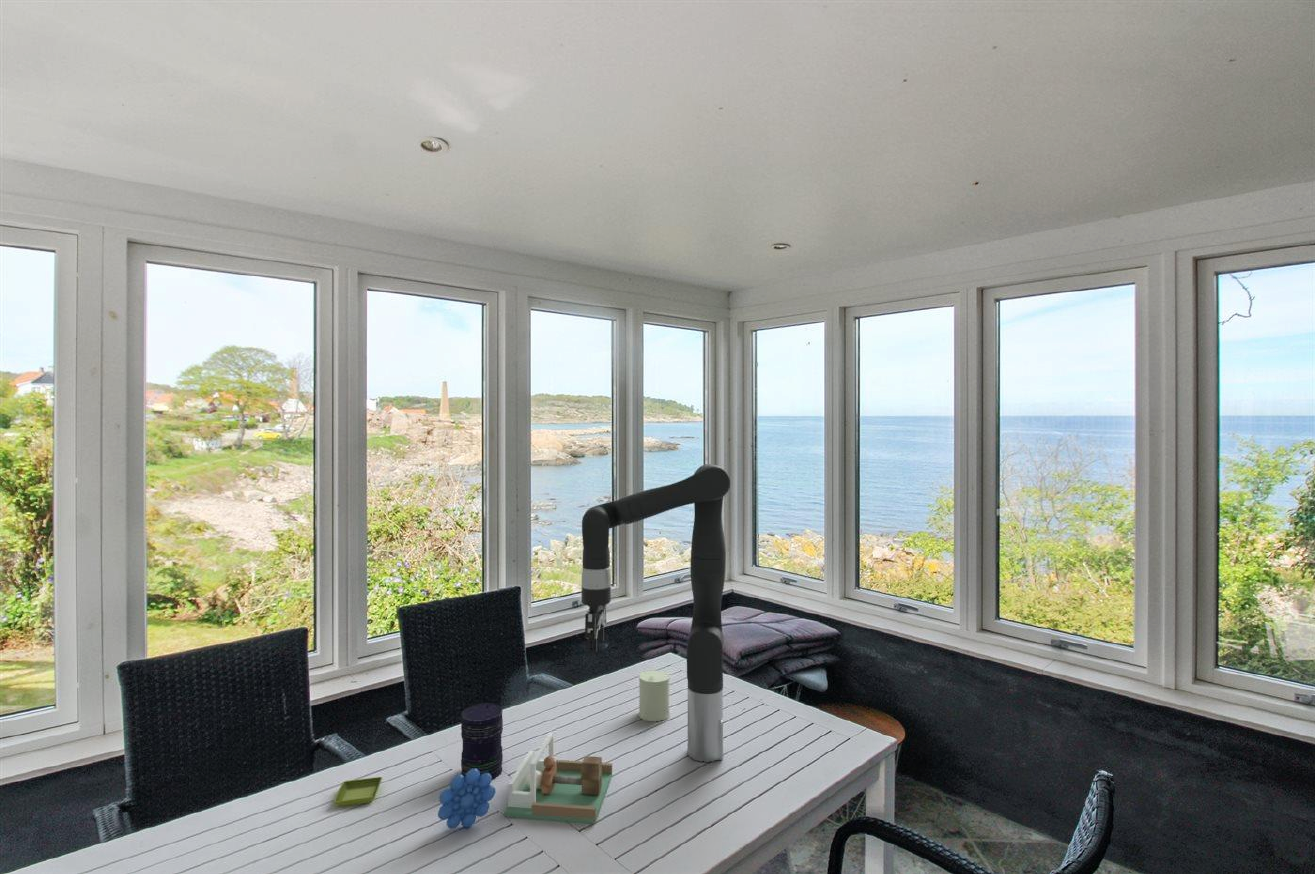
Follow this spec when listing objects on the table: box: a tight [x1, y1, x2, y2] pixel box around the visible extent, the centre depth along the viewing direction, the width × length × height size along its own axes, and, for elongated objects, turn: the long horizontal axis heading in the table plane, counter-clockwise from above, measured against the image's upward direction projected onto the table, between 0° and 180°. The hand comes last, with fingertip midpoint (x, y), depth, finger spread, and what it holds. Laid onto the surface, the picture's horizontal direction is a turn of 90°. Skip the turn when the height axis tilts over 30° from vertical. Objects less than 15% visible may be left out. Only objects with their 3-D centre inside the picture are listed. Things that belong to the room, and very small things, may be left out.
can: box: [638, 670, 671, 723], centre depth 185 cm, size 9×9×12 cm
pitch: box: [504, 731, 613, 825], centre depth 143 cm, size 20×19×11 cm
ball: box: [526, 770, 542, 790], centre depth 144 cm, size 4×4×4 cm
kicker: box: [542, 755, 603, 795], centre depth 142 cm, size 13×5×7 cm, turn 83°
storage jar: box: [460, 702, 504, 781], centre depth 152 cm, size 10×10×15 cm
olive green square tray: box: [333, 776, 383, 807], centre depth 142 cm, size 9×9×2 cm
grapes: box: [437, 768, 496, 830], centre depth 132 cm, size 12×7×12 cm, turn 108°
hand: (595, 647), depth 160 cm, fingers open, 8 cm apart
